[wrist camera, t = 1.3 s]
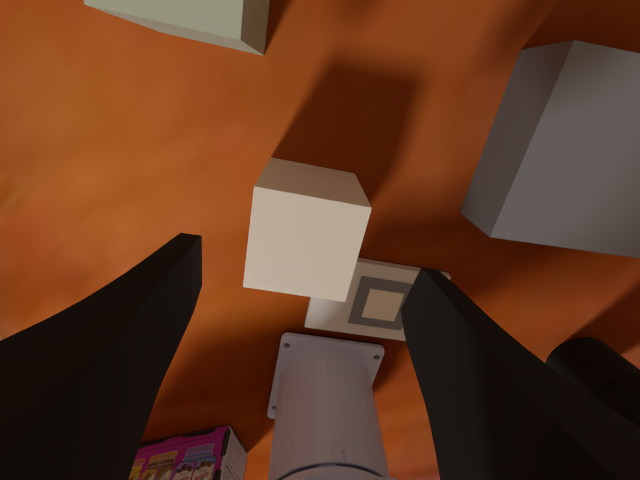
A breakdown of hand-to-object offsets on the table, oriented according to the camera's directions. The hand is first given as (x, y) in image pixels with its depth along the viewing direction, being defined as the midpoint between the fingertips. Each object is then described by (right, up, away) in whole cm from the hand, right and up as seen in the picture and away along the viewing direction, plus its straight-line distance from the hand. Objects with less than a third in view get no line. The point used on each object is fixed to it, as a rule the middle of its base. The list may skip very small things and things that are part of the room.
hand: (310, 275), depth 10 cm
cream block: (-1, +3, +9) cm, 10 cm away
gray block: (+14, +6, +8) cm, 18 cm away
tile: (+4, -3, +12) cm, 13 cm away
